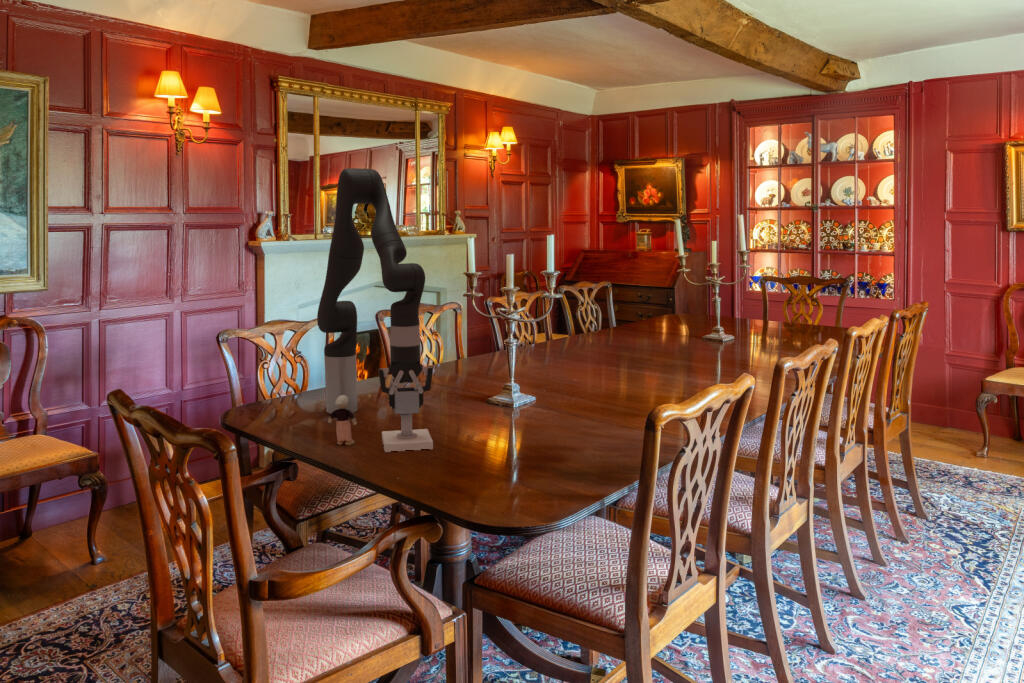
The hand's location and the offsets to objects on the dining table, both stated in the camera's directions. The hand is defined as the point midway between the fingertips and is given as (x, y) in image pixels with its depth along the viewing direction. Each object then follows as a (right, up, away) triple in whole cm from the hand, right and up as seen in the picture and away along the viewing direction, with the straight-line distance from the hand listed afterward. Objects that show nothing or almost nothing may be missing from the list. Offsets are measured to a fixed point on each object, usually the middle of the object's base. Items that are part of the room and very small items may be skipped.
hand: (406, 407), depth 193 cm
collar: (0, -1, 0) cm, 1 cm away
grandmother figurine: (-16, -10, +2) cm, 19 cm away
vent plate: (0, -10, +2) cm, 10 cm away
